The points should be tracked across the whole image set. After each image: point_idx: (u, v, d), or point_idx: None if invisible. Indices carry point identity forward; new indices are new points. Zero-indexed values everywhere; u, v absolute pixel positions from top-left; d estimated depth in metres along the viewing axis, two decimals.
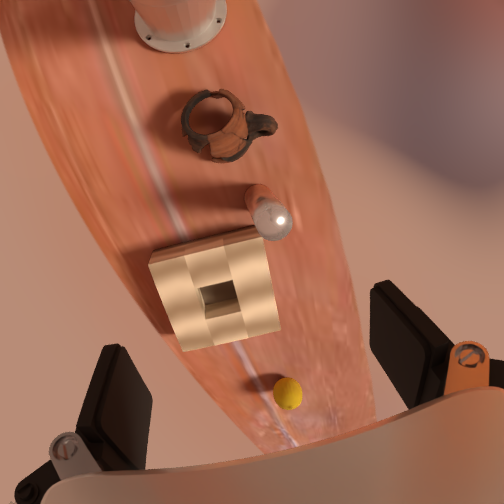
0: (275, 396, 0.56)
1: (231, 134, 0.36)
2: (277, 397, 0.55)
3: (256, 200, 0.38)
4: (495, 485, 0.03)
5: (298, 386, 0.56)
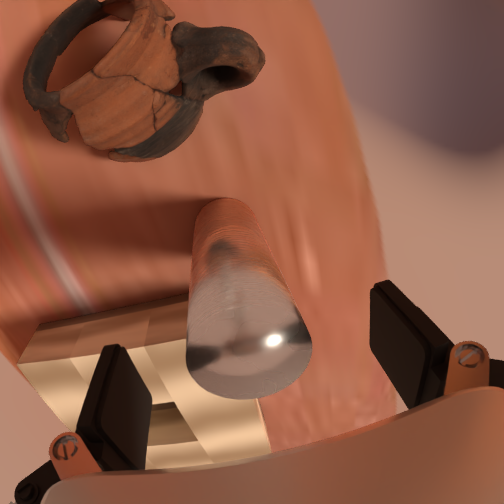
0: None
1: (125, 79, 0.11)
2: None
3: (202, 258, 0.13)
4: (495, 485, 0.03)
5: None
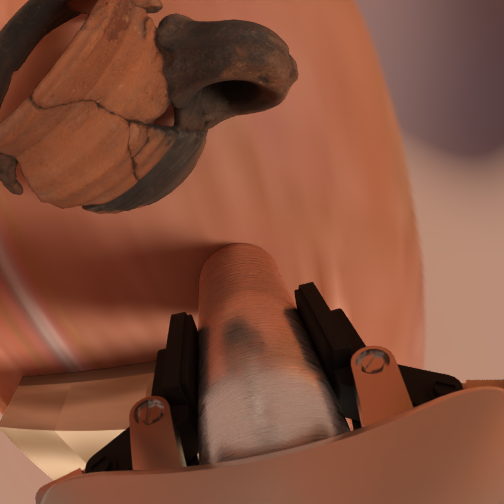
0: None
1: (83, 107, 0.07)
2: None
3: (216, 364, 0.08)
4: (495, 485, 0.03)
5: None
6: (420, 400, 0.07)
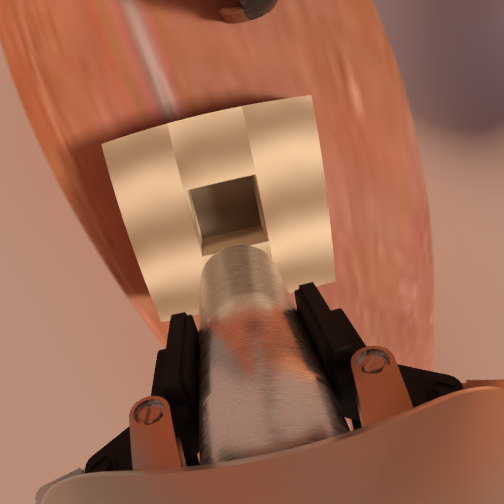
0: None
1: None
2: None
3: (217, 367, 0.08)
4: (495, 485, 0.03)
5: None
6: (420, 400, 0.07)
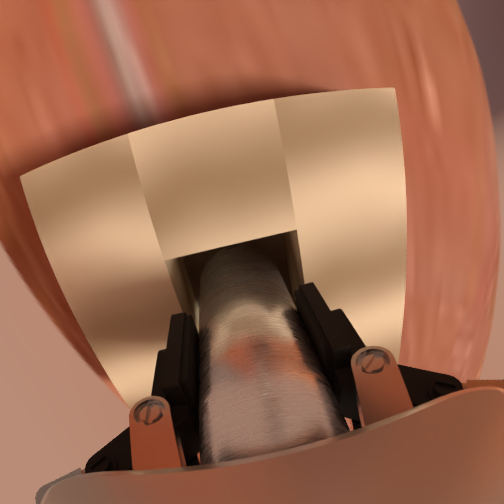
0: None
1: None
2: None
3: (217, 367, 0.08)
4: (495, 485, 0.03)
5: None
6: (420, 400, 0.07)
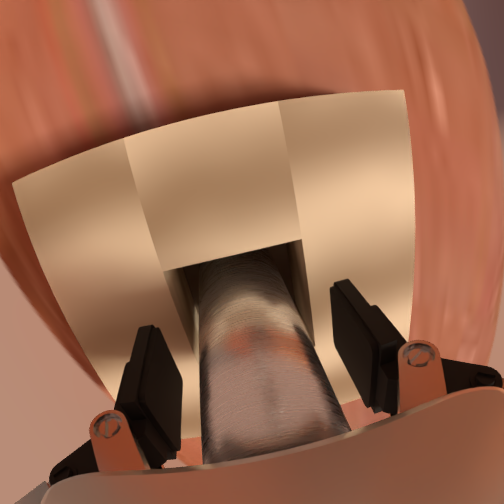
0: None
1: None
2: None
3: (217, 346, 0.09)
4: (495, 485, 0.03)
5: None
6: None
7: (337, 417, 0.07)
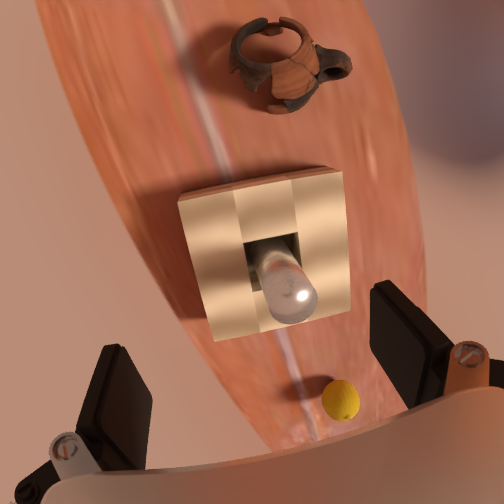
0: (326, 404, 0.42)
1: (300, 65, 0.24)
2: (330, 405, 0.41)
3: (268, 264, 0.28)
4: (495, 485, 0.03)
5: (355, 390, 0.42)
6: None
7: (307, 278, 0.26)
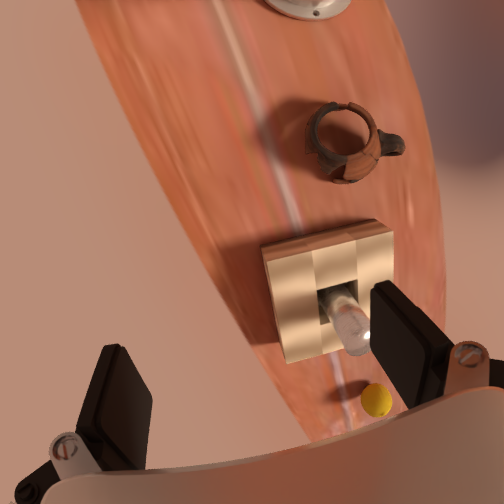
0: (366, 404, 0.49)
1: (368, 155, 0.31)
2: (369, 405, 0.48)
3: (339, 310, 0.35)
4: (495, 485, 0.03)
5: (388, 391, 0.50)
6: None
7: None
